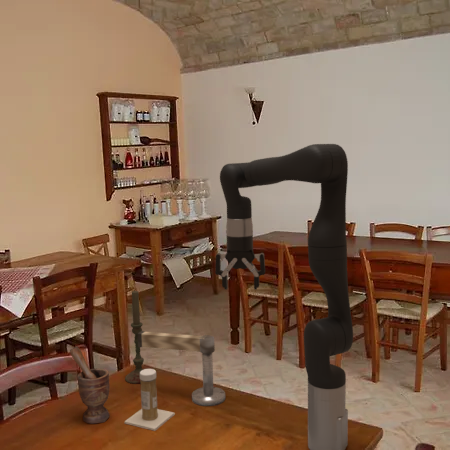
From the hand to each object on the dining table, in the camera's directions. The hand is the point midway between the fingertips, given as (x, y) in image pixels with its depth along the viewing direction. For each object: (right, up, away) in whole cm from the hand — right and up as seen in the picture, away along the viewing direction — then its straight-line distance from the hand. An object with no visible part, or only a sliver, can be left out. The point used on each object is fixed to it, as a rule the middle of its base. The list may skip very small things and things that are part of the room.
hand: (240, 288), depth 166 cm
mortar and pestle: (-43, -36, -3) cm, 56 cm away
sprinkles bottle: (-26, -35, -5) cm, 44 cm away
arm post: (-9, -34, +7) cm, 36 cm away
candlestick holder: (-33, -32, +23) cm, 51 cm away
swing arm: (-19, -19, +7) cm, 28 cm away
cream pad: (-26, -36, -5) cm, 44 cm away
